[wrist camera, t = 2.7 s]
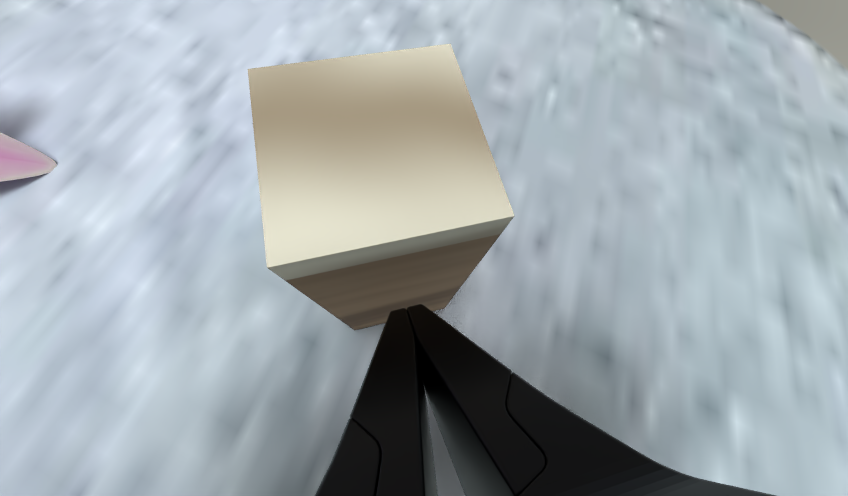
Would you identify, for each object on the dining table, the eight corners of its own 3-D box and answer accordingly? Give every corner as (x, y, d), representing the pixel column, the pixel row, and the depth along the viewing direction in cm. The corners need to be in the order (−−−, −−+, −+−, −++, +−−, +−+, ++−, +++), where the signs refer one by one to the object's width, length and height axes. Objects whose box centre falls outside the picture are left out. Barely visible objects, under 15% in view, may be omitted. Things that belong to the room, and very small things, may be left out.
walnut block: (444, 308, 18) (514, 215, 7) (354, 330, 17) (267, 267, 6) (422, 227, 20) (450, 43, 8) (339, 245, 19) (248, 69, 8)
